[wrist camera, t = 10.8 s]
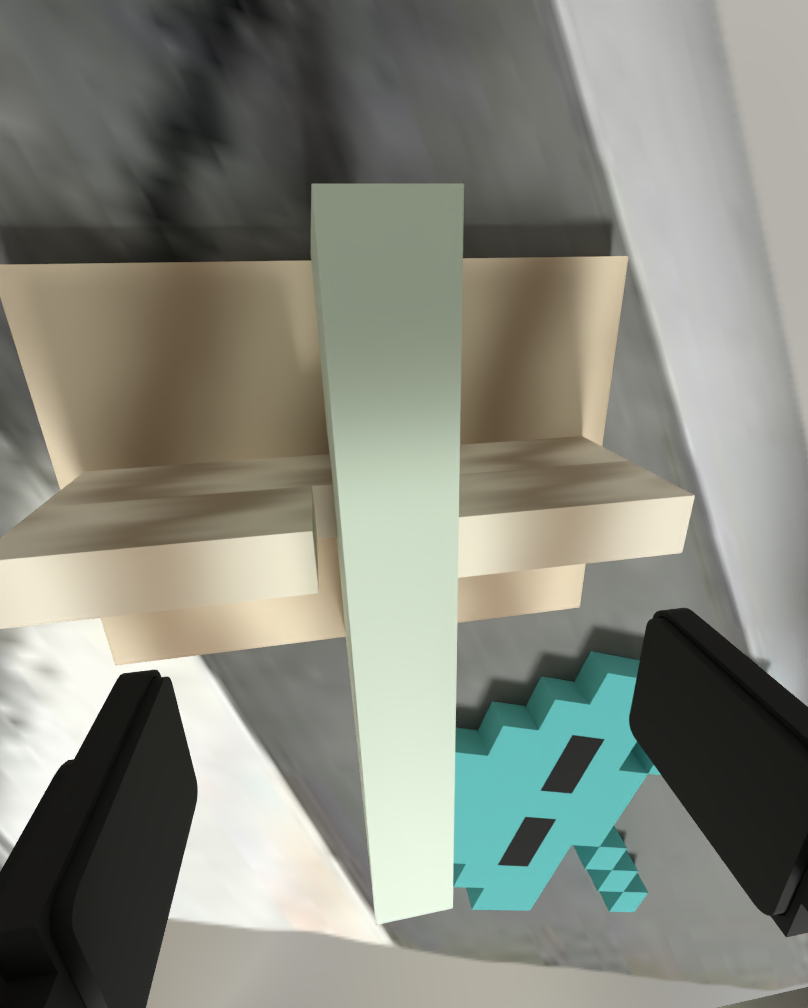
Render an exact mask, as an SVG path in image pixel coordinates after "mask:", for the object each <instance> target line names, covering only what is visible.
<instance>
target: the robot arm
mask: <svg viewBox="0 0 808 1008" xmlns="http://www.w3.org/2000/svg"><path fill="white" fill-rule="evenodd" d="M629 726H630V729H631V732H632V734H633V736H634V738H635V739H636V741H637V742H638V743H639V745H640V746H641V748H642V749H643V750H644V752H645V753H646V755H647V756H648V757H649V759H650V760H651V761H652V763H653V764H654V766H655V767H656V768H657V770H658V771H659V773H660V774H661V775H662V777H663V778H664V780H665V781H666V782H667V784H668V785H669V786H670V788H671V789H672V791H673V792H674V793H675V795H676V796H677V798H678V799H679V800H680V802H681V803H682V805H683V806H684V807H685V809H686V810H687V811H688V813H689V814H690V816H691V817H692V818H693V820H694V821H695V823H696V824H697V825H698V827H699V828H700V830H701V831H702V832H703V834H704V835H705V836H706V838H707V839H708V841H709V842H710V843H711V845H712V846H713V848H714V849H715V850H716V852H717V853H718V855H719V856H720V857H721V859H722V860H723V862H724V863H725V864H726V866H727V867H728V868H729V870H730V871H731V873H732V874H733V875H734V877H735V878H736V880H737V881H738V882H739V884H740V885H741V887H742V888H743V889H744V891H745V892H746V893H747V895H748V896H749V898H750V899H751V900H752V902H753V903H754V904H755V906H756V907H757V908H758V909H759V910H760V911H761V912H762V913H764V914H766V915H768V916H769V915H770V916H771V917H772V919H773V920H774V921H775V923H776V924H777V925H778V927H779V928H780V930H781V931H782V932H783V934H784V935H785V936H786V937H790V936H795V935H799V934H804V933H808V707H807V706H806V705H805V704H803V703H802V702H801V701H800V700H799V699H797V698H796V697H795V696H794V695H793V694H791V693H790V692H789V691H788V690H787V689H785V688H784V687H783V686H782V685H781V684H779V683H778V682H777V681H776V680H775V679H773V678H772V677H771V676H770V675H769V674H767V673H766V672H765V671H764V670H763V669H761V668H760V667H759V666H758V665H757V664H755V663H754V662H753V661H752V660H751V659H749V658H748V657H747V656H746V655H745V654H743V653H742V652H741V651H740V650H739V649H737V648H736V647H735V646H734V645H733V644H731V643H730V642H729V641H728V640H727V639H725V638H724V637H723V636H722V635H721V634H719V633H718V632H717V631H716V630H715V629H713V628H712V627H711V626H710V625H709V624H707V623H706V622H705V621H704V620H703V619H701V618H700V617H699V616H698V615H697V614H695V613H694V612H693V611H691V610H690V609H688V608H678V609H670V610H661V611H658V612H656V613H655V614H654V616H653V619H650V620H649V621H648V623H647V626H646V631H645V636H644V642H643V647H642V652H641V657H640V662H639V668H638V673H637V678H636V683H635V689H634V694H633V699H632V704H631V709H630V715H629ZM196 802H197V780H196V776H195V772H194V768H193V764H192V760H191V756H190V752H189V748H188V744H187V741H186V737H185V733H184V729H183V725H182V721H181V717H180V713H179V709H178V705H177V701H176V697H175V693H174V689H173V685H172V682H171V679H170V678H169V677H161V675H160V673H159V672H158V670H149V671H140V672H132V673H123V674H122V675H120V676H119V678H118V679H117V681H116V683H115V684H114V686H113V688H112V690H111V692H110V694H109V696H108V697H107V699H106V701H105V703H104V705H103V707H102V709H101V710H100V712H99V714H98V716H97V718H96V720H95V722H94V723H93V725H92V727H91V729H90V731H89V733H88V735H87V736H86V738H85V740H84V742H83V744H82V746H81V748H80V749H79V751H78V753H77V755H76V757H75V759H73V760H68V761H67V762H65V763H64V764H63V765H61V767H60V768H59V770H58V771H57V772H56V774H55V775H54V777H53V779H52V781H51V783H50V784H49V786H48V788H47V790H46V791H45V793H44V795H43V797H42V799H41V800H40V802H39V804H38V806H37V807H36V809H35V811H34V813H33V815H32V816H31V818H30V820H29V822H28V823H27V825H26V827H25V829H24V831H23V832H22V834H21V836H20V838H19V840H18V841H17V843H16V845H15V847H14V848H13V850H12V852H11V854H10V856H9V857H8V859H7V861H6V863H5V864H4V866H3V868H2V870H1V872H0V1008H146V1005H147V1000H148V996H149V992H150V988H151V984H152V980H153V976H154V972H155V968H156V964H157V960H158V956H159V952H160V948H161V944H162V940H163V936H164V932H165V928H166V924H167V920H168V916H169V912H170V908H171V904H172V900H173V896H174V892H175V887H176V883H177V879H178V875H179V871H180V867H181V863H182V859H183V855H184V851H185V847H186V843H187V839H188V835H189V831H190V827H191V823H192V819H193V815H194V811H195V807H196ZM718 1008H808V987H806V988H802V989H797V990H793V991H789V992H784V993H779V994H775V995H771V996H766V997H762V998H758V999H754V1000H749V1001H744V1002H740V1003H736V1004H731V1005H727V1006H723V1007H718Z"/></svg>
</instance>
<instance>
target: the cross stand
mask: <svg viewBox="0 0 808 1008" xmlns="http://www.w3.org/2000/svg"><path fill="white" fill-rule="evenodd" d="M627 262H628V256H602V257H529V258H463V281H462V345H461V410H460V474H459V538H458V603H457V623H458V622H466V621H474V620H482V619H490V618H498V617H506V616H514V615H522V614H530V613H538V612H546V611H554V610H562V609H570V608H578V607H580V600H581V593H582V586H583V579H584V572H585V565H586V563H595V562H604V561H613V560H622V559H631V558H640V557H649V556H658V555H667V554H676V553H682V551H683V546H684V542H685V537H686V533H687V528H688V524H689V519H690V515H691V510H692V506H693V501H694V497H695V495H693V494H691V493H689V492H687V491H685V490H684V489H682V488H680V487H678V486H676V485H674V484H672V483H670V482H668V481H666V480H665V479H663V478H661V477H659V476H657V475H655V474H653V473H651V472H649V471H648V470H646V469H644V468H642V467H640V466H638V465H636V464H634V463H632V462H630V461H629V460H627V459H625V458H623V457H621V456H619V455H617V454H615V453H613V452H611V451H610V450H608V449H606V448H604V447H602V442H603V435H604V428H605V421H606V413H607V406H608V399H609V392H610V385H611V377H612V370H613V363H614V356H615V349H616V341H617V334H618V327H619V320H620V313H621V305H622V298H623V291H624V284H625V277H626V269H627ZM0 297H1V301H2V304H3V307H4V310H5V313H6V317H7V320H8V323H9V326H10V329H11V333H12V336H13V339H14V342H15V345H16V349H17V352H18V355H19V358H20V361H21V365H22V368H23V371H24V374H25V377H26V381H27V384H28V387H29V390H30V394H31V397H32V400H33V403H34V406H35V410H36V413H37V416H38V419H39V422H40V426H41V429H42V432H43V435H44V438H45V442H46V445H47V448H48V451H49V454H50V458H51V461H52V464H53V467H54V470H55V474H56V477H57V480H58V483H59V486H60V491H59V492H58V493H57V494H55V495H54V496H53V497H52V498H50V499H49V500H48V501H46V502H45V503H44V504H43V505H41V506H40V507H39V508H38V509H36V510H35V511H34V512H33V513H31V514H30V515H29V516H28V517H26V518H25V519H24V520H22V521H21V522H20V523H19V524H17V525H16V526H15V527H14V528H12V529H11V530H10V531H9V532H7V533H6V534H5V535H4V536H2V537H1V538H0V629H4V628H13V627H22V626H31V625H40V624H49V623H58V622H67V621H76V620H85V619H94V618H101V621H102V624H103V627H104V630H105V634H106V637H107V640H108V643H109V646H110V650H111V653H112V656H113V659H114V663H115V665H123V664H131V663H139V662H147V661H155V660H163V659H171V658H179V657H187V656H195V655H203V654H211V653H219V652H227V651H235V650H243V649H251V648H259V647H266V646H274V645H282V644H290V643H298V642H306V641H314V640H322V639H330V638H338V637H346V633H345V622H344V611H343V600H342V589H341V579H340V568H339V557H338V546H337V526H336V515H335V504H334V493H333V482H332V471H331V461H330V453H329V444H328V436H327V426H326V415H325V404H324V393H323V383H322V372H321V361H320V350H319V339H318V328H317V317H316V306H315V295H314V285H313V274H312V263H311V260H309V261H236V262H163V263H90V264H17V265H0Z"/></svg>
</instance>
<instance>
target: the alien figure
mask: <svg viewBox="0 0 808 1008" xmlns="http://www.w3.org/2000/svg"><path fill="white" fill-rule="evenodd" d="M639 662H640V660H635V659H629V658H624V657H619V656H614V655H608V654H603V653H598V652H592V651H591V652H590V654H589V656H588V658H587V659H586V661H585V663H584V665H583V667H582V669H581V670H580V672H579V674H578V676H577V678H576V679H575V681H574V682H572V681H566V680H560V679H554V678H548V677H542V676H541V678H540V680H539V682H538V684H537V686H536V688H535V690H534V692H533V694H532V696H531V698H530V700H529V701H528V703H527V705H526V706H521V705H514V704H508V703H501V702H494V701H492V703H491V705H490V707H489V709H488V711H487V713H486V715H485V717H484V719H483V722H482V724H481V726H480V728H479V730H471V729H463V728H456V731H455V796H454V860H453V887H466V889H467V893H468V896H469V900H470V904H471V908H472V910H530V909H531V908H532V906H533V905H534V903H535V901H536V900H537V898H538V897H539V895H540V894H541V892H542V890H543V889H544V887H545V886H546V884H547V883H548V881H549V879H550V878H551V876H552V875H553V873H554V872H555V870H556V868H557V867H558V865H559V864H560V862H561V860H562V859H563V857H564V856H565V854H566V853H567V851H568V849H569V848H570V846H571V845H574V847H575V849H576V851H577V853H578V856H579V858H580V860H581V862H582V864H583V866H584V868H585V869H587V870H588V872H589V874H590V877H591V879H592V881H593V883H594V885H595V887H596V889H597V891H599V892H600V894H601V896H602V898H603V900H604V902H605V904H606V906H607V908H608V910H609V912H634V911H635V910H636V909H637V907H638V906H639V905H640V903H641V902H642V901H643V899H644V898H645V896H646V895H647V894H648V891H647V889H646V888H645V886H644V884H643V882H642V881H641V879H640V877H639V875H638V873H637V872H638V870H637V869H636V867H635V865H634V863H633V861H632V860H631V858H630V856H629V854H628V853H627V851H626V849H627V847H626V846H625V844H624V842H623V840H622V839H621V837H620V835H619V833H618V832H617V830H616V828H615V826H614V824H615V823H616V821H617V820H618V818H619V817H620V815H621V814H622V812H623V811H624V809H625V808H626V806H627V805H628V803H629V802H630V800H631V799H632V797H633V796H634V794H635V793H636V791H637V790H638V788H639V787H640V785H641V784H642V782H643V781H644V779H645V777H646V776H647V774H655V775H661V774H660V773H659V771H658V770H657V768H656V767H655V766H654V764H653V763H652V761H651V760H650V759H649V757H648V756H647V755H646V753H645V752H644V750H643V749H642V748H641V746H640V745H639V743H638V742H637V741H636V739H635V738H634V736H633V734H632V732H631V729H630V726H629V715H630V709H631V704H632V699H633V694H634V689H635V683H636V678H637V673H638V668H639Z"/></svg>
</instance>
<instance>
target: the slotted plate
mask: <svg viewBox="0 0 808 1008" xmlns="http://www.w3.org/2000/svg"><path fill="white" fill-rule="evenodd" d="M463 217H464V184H312V186H311V263H312V274H313V285H314V295H315V306H316V317H317V328H318V339H319V350H320V361H321V372H322V383H323V393H324V404H325V415H326V426H327V436H328V444H329V453H330V461H331V471H332V482H333V493H334V504H335V515H336V526H337V546H338V557H339V568H340V579H341V589H342V600H343V611H344V622H345V633H346V643H347V652H348V662H349V671H350V681H351V690H352V700H353V710H354V719H355V729H356V738H357V748H358V758H359V767H360V777H361V786H362V796H363V805H364V815H365V825H366V834H367V844H368V853H369V863H370V873H371V882H372V892H373V901H374V911H375V921H376V925H377V924H382V923H386V922H391V921H396V920H400V919H405V918H409V917H414V916H419V915H423V914H428V913H432V912H437V911H442V910H446V909H451V908H453V860H454V796H455V731H456V667H457V603H458V538H459V474H460V410H461V345H462V281H463Z"/></svg>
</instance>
